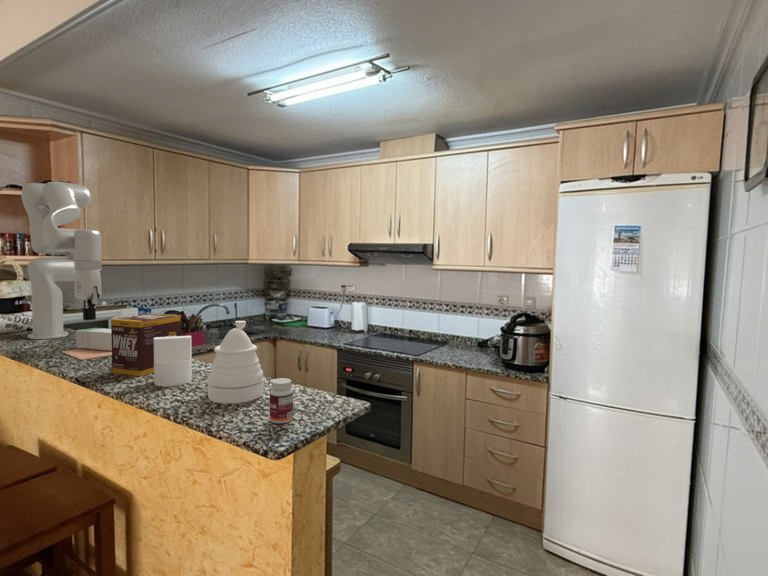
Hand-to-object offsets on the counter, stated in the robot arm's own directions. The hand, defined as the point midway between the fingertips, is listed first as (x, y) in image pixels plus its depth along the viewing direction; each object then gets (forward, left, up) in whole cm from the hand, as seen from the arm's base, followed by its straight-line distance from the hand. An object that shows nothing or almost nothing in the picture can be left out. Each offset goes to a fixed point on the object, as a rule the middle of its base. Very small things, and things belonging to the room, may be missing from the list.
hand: (89, 319), depth 142 cm
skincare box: (-8, +1, -8) cm, 11 cm away
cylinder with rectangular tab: (+54, 0, -11) cm, 55 cm away
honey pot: (+76, +4, -11) cm, 77 cm away
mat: (+3, 0, -11) cm, 11 cm away
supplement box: (+36, +2, -11) cm, 38 cm away
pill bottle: (+97, 0, -11) cm, 98 cm away
